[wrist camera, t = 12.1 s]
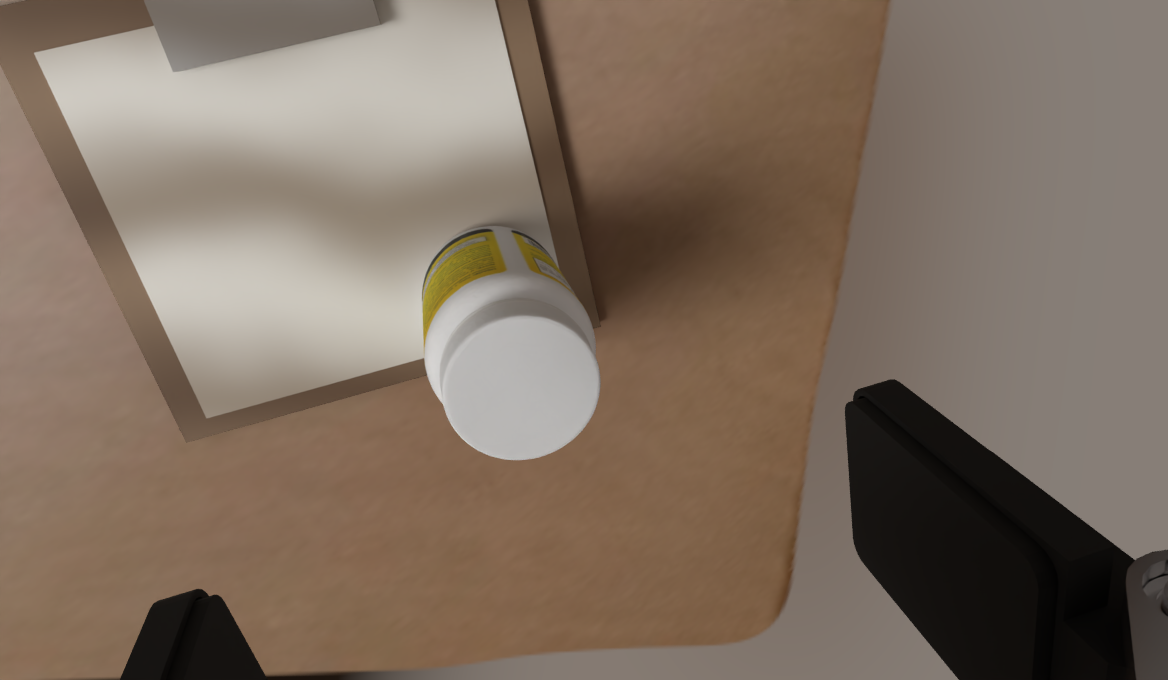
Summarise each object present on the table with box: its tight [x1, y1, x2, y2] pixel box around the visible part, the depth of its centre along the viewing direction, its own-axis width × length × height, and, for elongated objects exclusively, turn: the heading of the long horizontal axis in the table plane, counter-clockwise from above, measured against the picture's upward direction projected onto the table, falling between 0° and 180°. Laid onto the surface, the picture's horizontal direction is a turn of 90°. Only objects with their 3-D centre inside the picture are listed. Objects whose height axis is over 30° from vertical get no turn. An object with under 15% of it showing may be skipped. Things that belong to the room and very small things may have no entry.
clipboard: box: [0, 0, 601, 443], centre depth 24 cm, size 14×15×1 cm
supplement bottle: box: [422, 226, 600, 460], centre depth 23 cm, size 5×5×8 cm
